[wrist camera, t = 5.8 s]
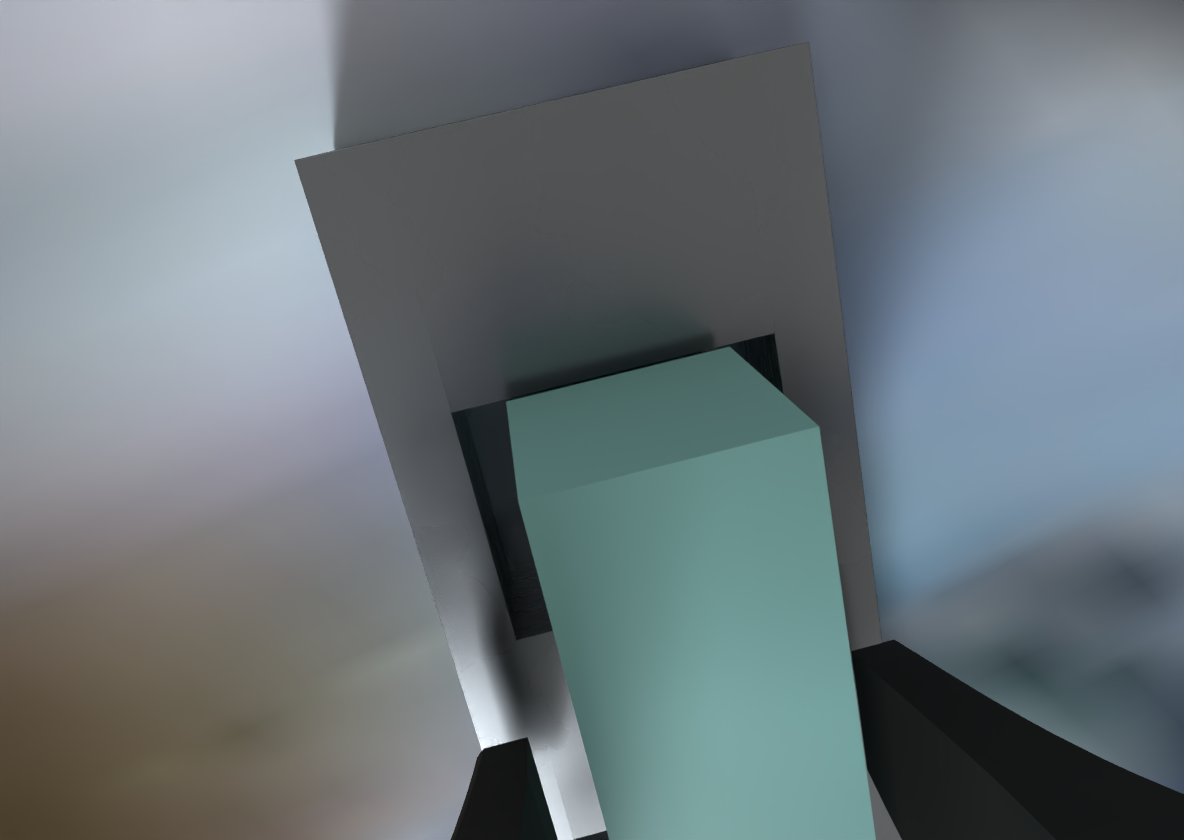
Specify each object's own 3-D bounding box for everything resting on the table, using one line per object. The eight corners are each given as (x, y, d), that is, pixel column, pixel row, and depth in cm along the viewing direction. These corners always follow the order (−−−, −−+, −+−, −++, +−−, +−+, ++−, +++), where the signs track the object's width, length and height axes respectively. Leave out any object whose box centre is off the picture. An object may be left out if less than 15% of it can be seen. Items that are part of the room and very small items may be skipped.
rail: (895, 1126, 21) (959, 1280, 18) (649, 1198, 21) (678, 1366, 18) (736, 57, 13) (808, 42, 10) (332, 150, 13) (293, 160, 10)
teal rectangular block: (781, 827, 17) (917, 1139, 12) (634, 867, 16) (706, 1201, 11) (685, 307, 13) (819, 426, 8) (500, 352, 13) (517, 501, 8)
